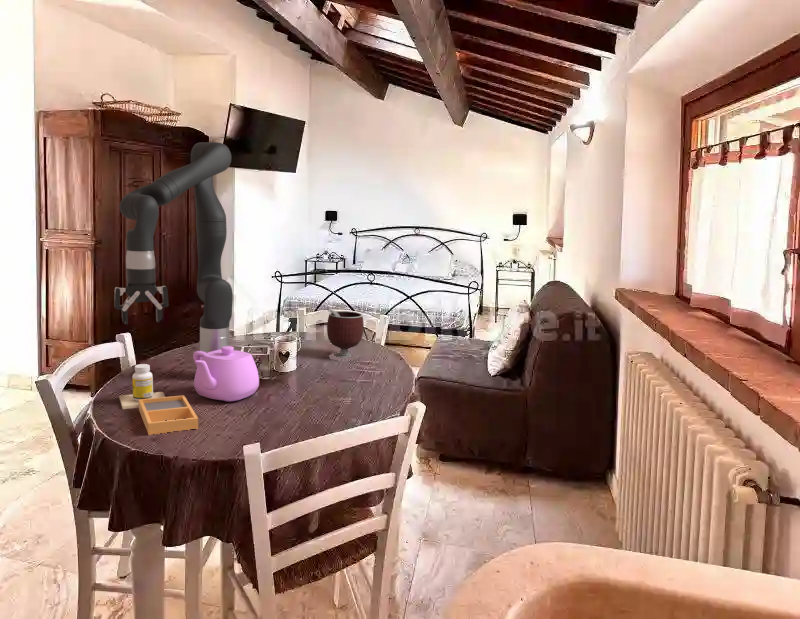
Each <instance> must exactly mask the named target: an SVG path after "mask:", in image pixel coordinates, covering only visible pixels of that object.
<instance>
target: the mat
mask: <svg viewBox="0 0 800 619" xmlns="http://www.w3.org/2000/svg"><path fill="white" fill-rule="evenodd" d="M160 397H166V396H165V392H163V391H156V392H154V391H153V398H160ZM118 399H119V403H120V405H121V409H122V410H126V409H129V410H130V409H135V408H136V409H137V408H138V409H139V401H135V400H134V399H133V393H132V394H123V395H119V396H118Z"/></svg>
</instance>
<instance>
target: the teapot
mask: <svg viewBox="0 0 800 619" xmlns="http://www.w3.org/2000/svg"><path fill="white" fill-rule="evenodd" d="M201 356H202V358H201ZM192 358H193V362H194V365H195V366H196V371H195V374H194V375H195V376H194V378H193V379H194V380H193V386H194V389H195V391H196V392H197V394H198V395H199V396H202V397H204V398H207V399H212V400H218V401H223V402H227V403H230V402H231V403H233V402H235V401H241V400H242V399H245V398H248V397H250V396H252V395H254V394H255V393H256V392H257V391H258V388H259V386H260V378H259V371H258V367H257V365H256V363H255V359H254V357H253V355H252V354H251V353H249V352H246V351H242V350H236V349H234V347H233V346H231V345H229V346H223V347H221V349H220V350H215V351H212V352H209V353H206V352H203V351H200V350H196V351H194V352H193V354H192Z"/></svg>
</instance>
